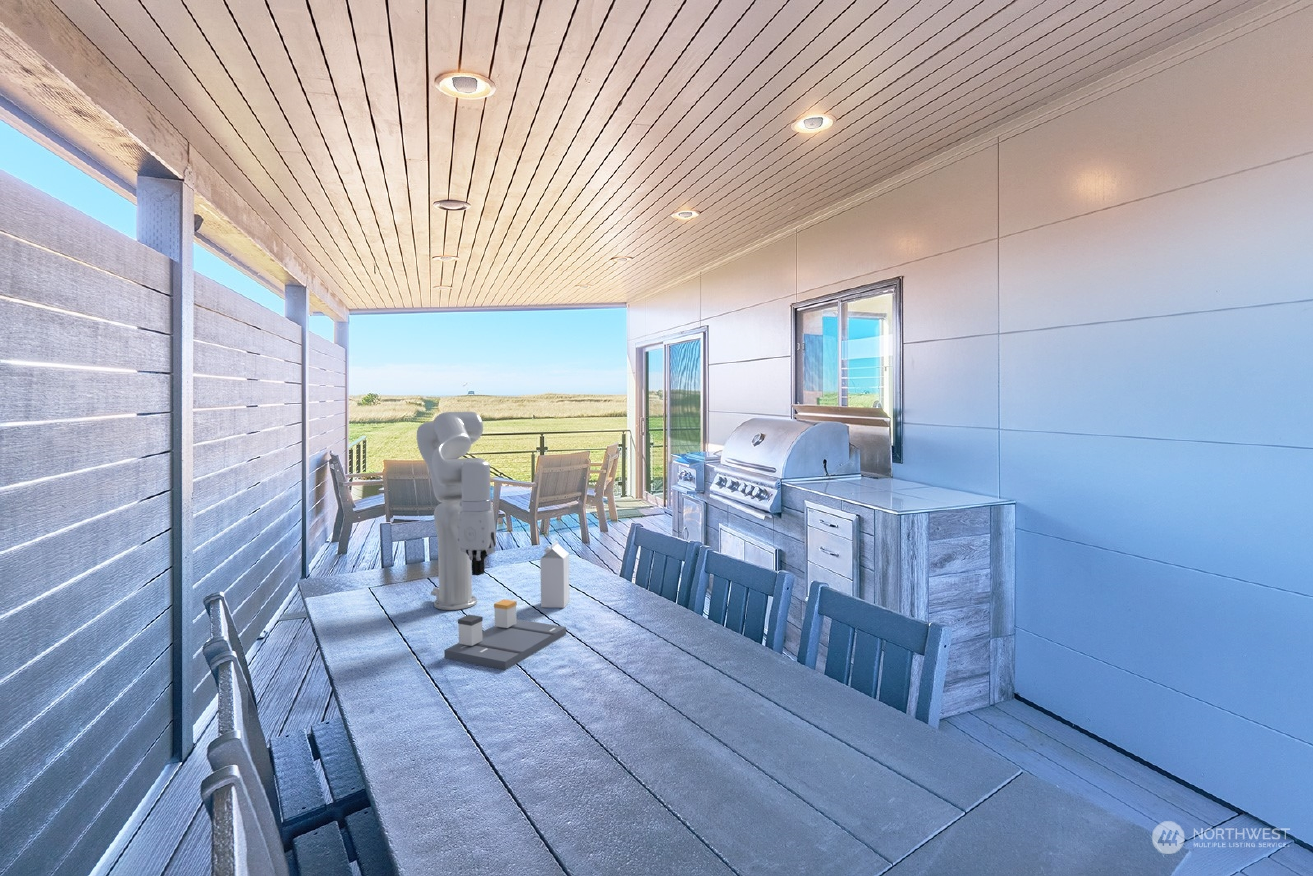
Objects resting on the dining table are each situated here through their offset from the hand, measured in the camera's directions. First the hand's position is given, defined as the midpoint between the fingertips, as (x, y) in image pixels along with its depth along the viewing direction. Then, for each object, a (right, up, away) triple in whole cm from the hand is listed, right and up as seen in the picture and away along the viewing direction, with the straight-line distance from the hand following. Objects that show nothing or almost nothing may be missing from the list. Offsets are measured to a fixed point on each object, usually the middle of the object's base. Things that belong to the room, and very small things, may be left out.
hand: (478, 574), depth 183 cm
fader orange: (+8, -13, -3) cm, 15 cm away
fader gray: (+2, -14, -15) cm, 21 cm away
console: (+11, -16, -11) cm, 22 cm away
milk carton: (+17, -14, +23) cm, 32 cm away
